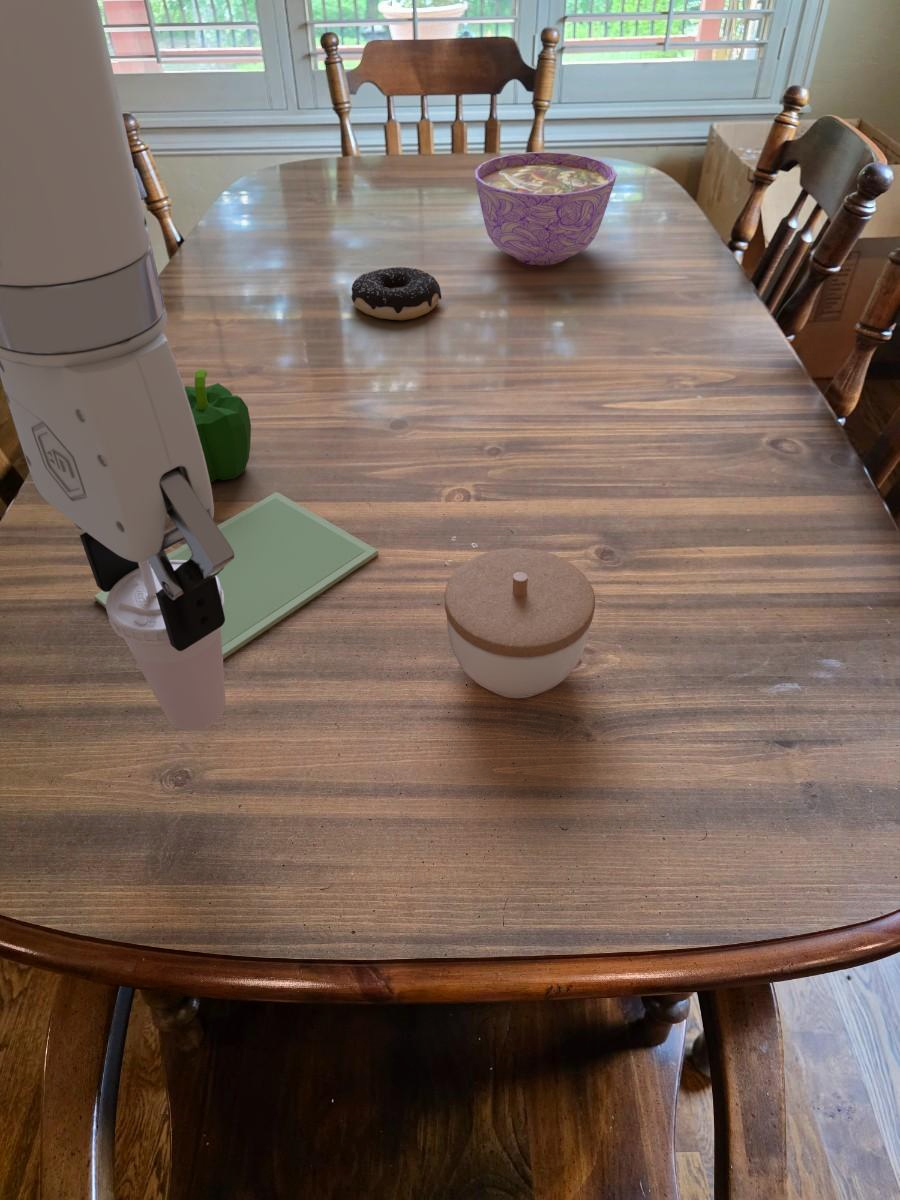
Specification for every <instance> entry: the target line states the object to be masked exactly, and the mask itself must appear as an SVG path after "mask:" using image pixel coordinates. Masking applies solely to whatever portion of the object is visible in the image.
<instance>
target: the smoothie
mask: <svg viewBox="0 0 900 1200" xmlns="http://www.w3.org/2000/svg"><path fill="white" fill-rule="evenodd" d="M169 561H170V563H171V565H172V567H173V569H174V571H175V570H176V569H177V568H178V567H179V566H180V565H181V564H183V563H185V562H186V561H187V560H169ZM138 565H139V568H138V569H135V570H134V571H132V572H130V573H128V574H127V575H125V576H124V577H123V578H122V579H120V580H119V581H118V582H117V583H116V584H115V585H114V586H113V588H112V589H111V591H110V592H109V594H108V597H107V600H106V608H105V609H106V613H107V617H108V622H109V625H110V627H111V629H112V630H113V631H114V632H115V633H116V634H117V635H118V636H119V637H120V638H122V639H124V642H125V644H126V645H127V646H128V649H129V650H130V653H131V654H132V656H133V659H134V660H135V661H136V663H137V665H138V667H139V669H140V671H141V673H142V674H143V677H144V678H145V680H146V682H147V684H148V685H149V688H150V690H151V691H152V693H153V695H154V697H155V699H156V700H157V703H158V705H159V706H160V708H161V710H162V712H163V713H164V715H165V718H166V719H167V721H168V722H169V723H170V725H172V727H174V728H176V729H178V730H181V731H191V732H193V731H200V730H203V729H205V728H208V727H210V726H212V725H214V724H215V723H216V722H218V721H219V720H220V719H221V718H222V716H223V714H224V713H225V710H226V707H227V700H226V699H227V698H226V685H225V671H224V659H223V654H222V639H221V627H220V628H218V629H217V630H215V631H213V632H212V633H210V634H209V635H207V636H205V637H204V638H202V639H201V640H199V641H197V642H196V643H194V644H193V645H191V646H190V647H188V648H186V649H185V650H183V651H178V650H176V649H175V648H174V647H173V646H171V644H170V640H169V637H168V633H167V630H166V627H165V623H164V620H163V616H162V613H161V610H160V606H159V603H158V599H157V596H156V593H157V592H159V591H160V590H161V589H162V587H161V585H160V583H159V581H158V579H157V577H156V575H155V573H154V571H153V569H152V567H151V565H150V564H149V561H148V560H146V561H144V562H138ZM215 577H216V581H217V585H218V590H219V594H220V598H221V603H222V607H223V604H224V594H223V590H222V588H221V585H220V581H219V579H218V577H217V575H216V576H215Z"/></svg>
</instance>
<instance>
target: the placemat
mask: <svg viewBox="0 0 900 1200" xmlns="http://www.w3.org/2000/svg"><path fill="white" fill-rule="evenodd" d="M216 525H217V527H218V528H219V530H220V531H221V533H222V534H223V536H224V537H225V539H226V540H227V542H228V543H229V545H230V546H231V548H232V550H233V552H234V559H233V560H232V561H231V562H229V563H228V564H227V565H226V566H225V567H224V568H223V570H221V571H220V572H219V574H218V575H217V577H218V579H219V581H220V585H221V588H222V590H223V594H224V604H223V612H224V616H225V622H224V624H223V625H222V626H221V639H222V654H223V660H224V659H226V658H228V657H229V656H231V655H232V654H233V653H235V652H236V651H238V650H240V649H241V648H243V647H244V646H246V644H248V643H250V642H251V641H253V640H255V639H256V638H257V637H259V636H260V635H262V634H263V633H265V632H266V631H268V630H269V629H271V628H272V627H274V626H275V625H276V624H278V623H279V622H280V621H282V620H284V619H286V618H287V617H288V616H290V615H291V614H293V613H294V612H295V611H297V610H298V609H300V608H301V607H303V606H304V605H306V604H308V603H309V602H310V601H313V599H315V598H317V597H318V596H319V595H321V594H322V593H323V592H325V591H326V590H328V589H329V588H331V587H333V586H334V585H336V584H337V583H338V582H340V581H341V580H343V579H344V578H346V577H347V576H349V575H350V574H352V573H353V572H355V571H356V570H358V569H359V568H361V567H362V566H363V565H365V564H367V563H368V562H370V561H371V560H372V559H374V558H375V557H377V556H378V555H379V550H378V549H377V548H375V547H373V546H371V545H370V544H368V543H366V542H364V541H363V540H361V539H360V538H357V537H356V536H354V535H352V534H351V533H349V532H348V531H346V530H344V529H342V528H340V527H339V526H337V525H335V524H333V523H331V522H330V521H328V520H326V519H325V518H323V517H321V516H320V515H318V514H317V513H314V512H312V511H311V510H309V509H307V508H306V507H304V506H303V505H300V504H298V503H297V502H295V501H294V500H292V499H290V498H288V497H286V496H285V495H283V494H282V493H279V492H278V491H275V492H274V493H272V494H270V495H268V496H267V497H265V498H263V499H261V500H260V501H258V502H255V503H254V504H252V505H251V506H249V507H247V508H246V509H244V510H242V511H240V512H238V513H237V514H235V515H233V516H232V517H230V518H228V519H226V520H225V521H223V522H221V523H219V524H216ZM166 555H167V557H168V559H169V560H187V561H188V560H189V559H190V557H191V556H192V553H191V551H190V549H189V547H188V545H187V543H186V542H185V543H184V544H182V545H181V546H179V547H177V548H175V549H173V550H171V551H169V552H168V553H166ZM109 592H110V591H109ZM109 592H104V591H102V590H101V591H99V592H98V593H97V594H94V595H93V597H94V600H95V601H96V602H98V604H100V605H101V606H102V607H104V608H105V609H106V600H107V597H108V594H109Z"/></svg>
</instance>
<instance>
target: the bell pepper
mask: <svg viewBox="0 0 900 1200" xmlns="http://www.w3.org/2000/svg"><path fill="white" fill-rule="evenodd" d="M207 376H208V372H207V370H205V369H204V368H203V369H200V368H199V369H197V371H196V372H195V375H194V386H188V385H186V386H184V388H185V391H186V395H187V398H188V401H189V404H190V407H191V410H192V414H193V417H194V421H195V424H196V428H197V431H198V435H199V439H200V442H201V446H202V450H203V453H204V457H205V461H206V466H207V470H208V474H209V479H210V484H211V483H212V484H213V482H214V481H216V480H222V481H226V480H235V479H236V478H238V477H239V476H241V475H242V474H243V473H244V471H245V470H246V468H247V465H248V463H249V459H250V451H251V439H252V437H251V436H252V424H251V418H250V412H249V408H248V406H247V404H246V403H245V402H244V400H243V398H242V397H240V396H239V395H238V394H235V395H234V394H232V391H230V390H229V389H228V388H226V387H225V386H224V385H222V384H220V382H217V383H214V384H211V385H209V386H206V379H207Z"/></svg>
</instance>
